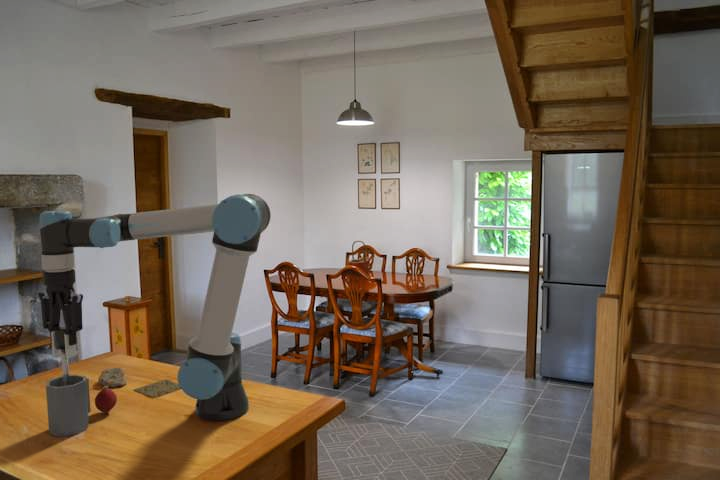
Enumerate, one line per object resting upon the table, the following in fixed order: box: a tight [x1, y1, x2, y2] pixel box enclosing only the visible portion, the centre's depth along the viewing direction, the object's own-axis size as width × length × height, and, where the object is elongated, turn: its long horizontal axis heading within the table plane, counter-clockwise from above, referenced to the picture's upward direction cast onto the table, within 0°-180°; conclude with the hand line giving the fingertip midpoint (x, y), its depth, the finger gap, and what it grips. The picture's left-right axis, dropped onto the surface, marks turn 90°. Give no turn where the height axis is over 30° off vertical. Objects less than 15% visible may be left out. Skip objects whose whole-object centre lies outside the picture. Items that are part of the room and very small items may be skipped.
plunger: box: [54, 326, 70, 386], centre depth 153 cm, size 7×7×19 cm
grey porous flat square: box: [132, 379, 182, 399], centre depth 185 cm, size 12×12×1 cm
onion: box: [94, 385, 118, 414], centre depth 165 cm, size 6×6×8 cm
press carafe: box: [45, 374, 92, 438], centre depth 156 cm, size 9×11×14 cm
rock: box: [97, 367, 127, 388], centre depth 189 cm, size 9×6×10 cm
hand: (64, 355), depth 153 cm, fingers closed on plunger, 4 cm apart
